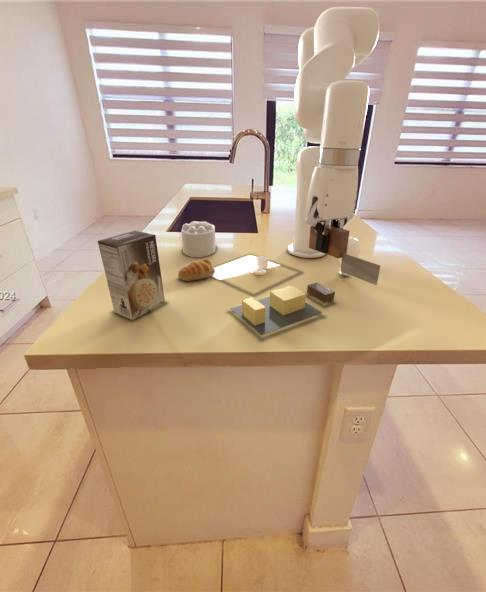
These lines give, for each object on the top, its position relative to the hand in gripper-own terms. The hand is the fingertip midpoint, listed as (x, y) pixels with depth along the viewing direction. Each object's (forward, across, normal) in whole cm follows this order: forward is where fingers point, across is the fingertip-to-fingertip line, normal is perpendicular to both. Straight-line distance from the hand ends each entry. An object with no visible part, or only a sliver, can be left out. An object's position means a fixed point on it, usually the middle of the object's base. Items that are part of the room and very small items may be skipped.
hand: (326, 249), depth 68 cm
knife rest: (+12, 0, 0) cm, 12 cm away
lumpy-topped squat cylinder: (+12, +10, -46) cm, 49 cm away
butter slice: (+12, +19, 0) cm, 22 cm away
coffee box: (+13, +37, -18) cm, 43 cm away
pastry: (+12, +19, -27) cm, 35 cm away
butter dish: (+13, +13, 0) cm, 18 cm away
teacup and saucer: (+13, +5, -22) cm, 26 cm away
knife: (+3, 0, +5) cm, 6 cm away
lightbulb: (+13, -16, -7) cm, 22 cm away
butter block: (+12, +10, 0) cm, 15 cm away
